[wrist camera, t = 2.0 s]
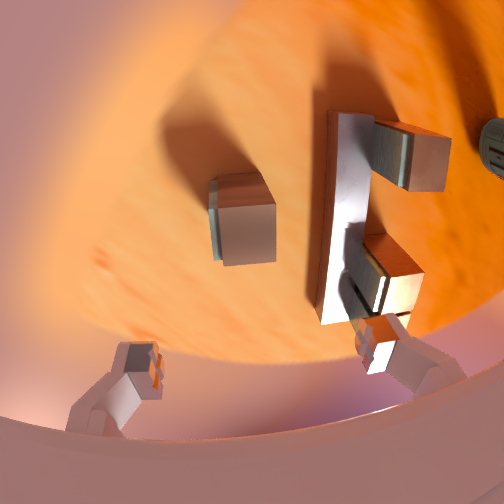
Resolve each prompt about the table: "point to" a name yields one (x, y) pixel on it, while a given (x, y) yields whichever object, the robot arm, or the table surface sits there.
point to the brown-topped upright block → (242, 219)
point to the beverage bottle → (493, 146)
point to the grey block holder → (355, 211)
